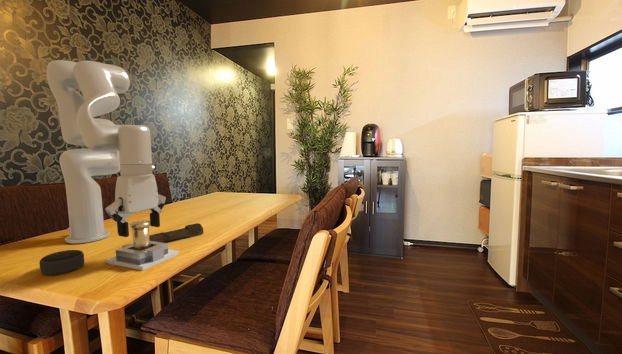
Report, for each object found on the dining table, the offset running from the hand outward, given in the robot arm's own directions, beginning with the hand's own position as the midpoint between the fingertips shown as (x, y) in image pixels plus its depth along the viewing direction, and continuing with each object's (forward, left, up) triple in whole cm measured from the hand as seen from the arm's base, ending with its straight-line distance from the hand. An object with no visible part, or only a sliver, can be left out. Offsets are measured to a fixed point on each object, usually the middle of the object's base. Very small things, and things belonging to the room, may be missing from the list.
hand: (140, 231), depth 81 cm
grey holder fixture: (0, 0, -7) cm, 7 cm away
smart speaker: (-15, -12, -9) cm, 21 cm away
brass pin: (+1, 0, -7) cm, 7 cm away
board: (0, +1, -8) cm, 8 cm away
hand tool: (-6, +17, -9) cm, 20 cm away
